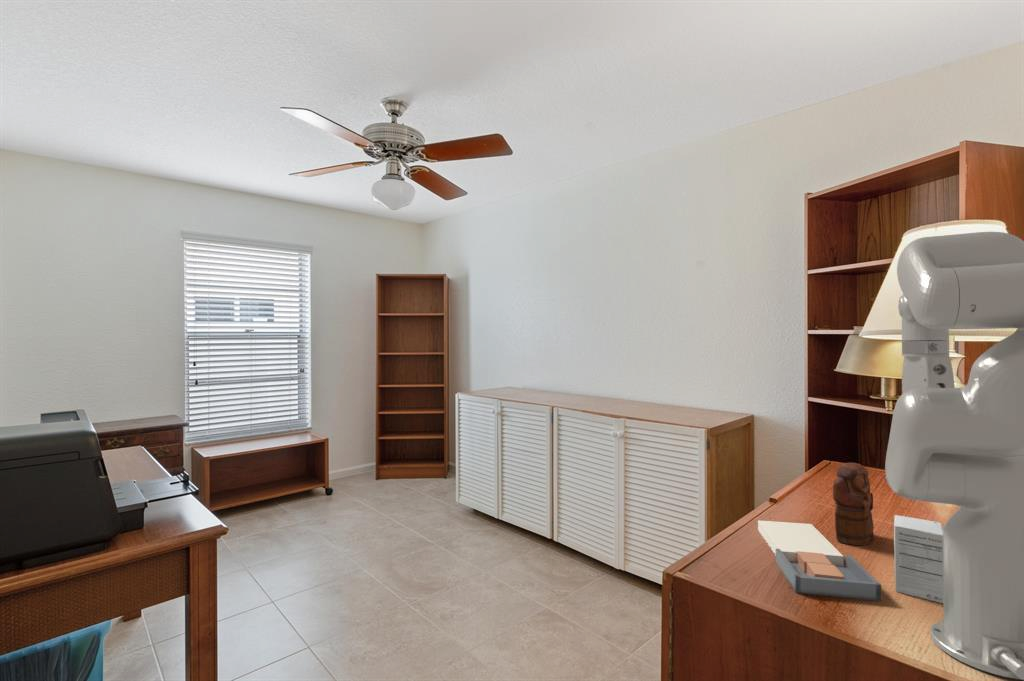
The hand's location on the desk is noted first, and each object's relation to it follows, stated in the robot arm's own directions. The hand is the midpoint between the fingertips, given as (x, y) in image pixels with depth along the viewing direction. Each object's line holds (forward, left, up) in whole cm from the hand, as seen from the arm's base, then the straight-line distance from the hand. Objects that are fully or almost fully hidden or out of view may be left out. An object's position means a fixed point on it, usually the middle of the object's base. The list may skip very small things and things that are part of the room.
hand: (925, 437), depth 101 cm
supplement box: (-11, +7, -27) cm, 30 cm away
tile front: (-12, +23, -27) cm, 37 cm away
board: (+5, +23, -27) cm, 36 cm away
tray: (-11, +23, -27) cm, 37 cm away
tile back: (-7, +23, -27) cm, 36 cm away
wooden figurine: (+13, +8, -27) cm, 31 cm away
